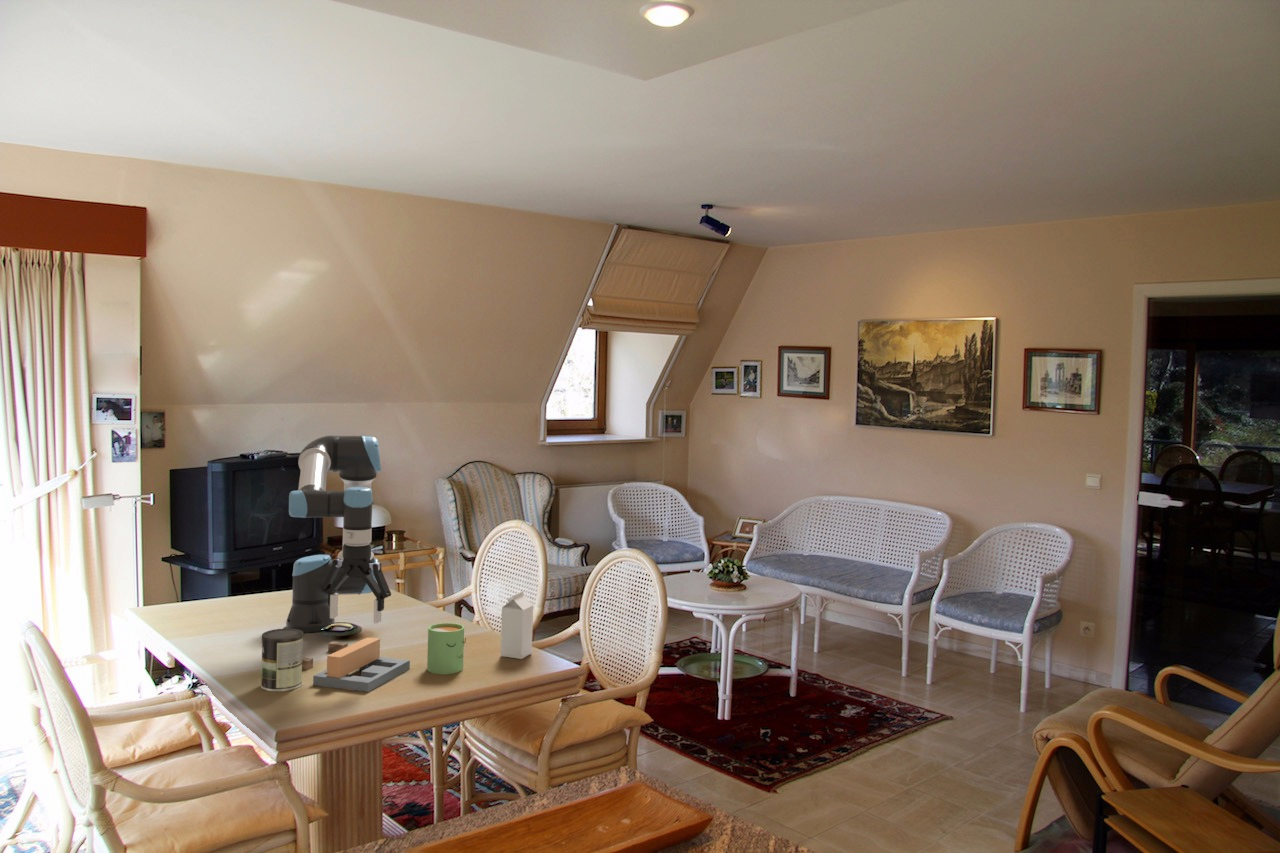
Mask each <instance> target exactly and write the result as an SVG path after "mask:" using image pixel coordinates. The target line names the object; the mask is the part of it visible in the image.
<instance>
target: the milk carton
mask: <svg viewBox="0 0 1280 853" xmlns="http://www.w3.org/2000/svg"><path fill="white" fill-rule="evenodd" d="M524 592H525V591H524V590H521V591H520V592H518V593H515V594H513V595H511V596H510V597H509V598H508V599H507V603H506V604H505V605H503V606H502V607H501V631H500V635H501V636H500V657H504V658H512V659H517V660H518V659H519V660H523V659H524V658H526V657H528V656H529V655H531V654H532V653H533V627H534V625H533V624H534V622H533V621H534V604H533V603H532V602H531V601H530V600H529V599H528V598H527V597H526V596H525V594H524Z"/></svg>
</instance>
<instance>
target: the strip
mask: <svg viewBox="0 0 1280 853" xmlns="http://www.w3.org/2000/svg"><path fill="white" fill-rule="evenodd" d="M380 652H381V639H380V638H376V637H365V638H364V639H361V640H359V641H357V642H355V643H353V644H351V645H348V647H346V648H343V649H341V650H339V651H337V652H331V654H328V655H326V656H327V657H326V663H327V664H326V669H327V676H329V677H337V678H341V677H343V676H345V677H349V676H350V675H349V674H350V673H353V672H355V671H357V670H358V669H359V670H360V671H363V670H365V669H367V668H369V667H368V663H370V662H372V661H374V660H376V659H378V658H380V657H381V655H380V654H381V653H380Z"/></svg>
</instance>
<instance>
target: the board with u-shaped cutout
mask: <svg viewBox="0 0 1280 853" xmlns="http://www.w3.org/2000/svg"><path fill="white" fill-rule="evenodd" d="M410 663H411V661H410V659H403V658H393V657H385V656H380V658H378V659H376V660H374V661H372V662H370V663H368V668H367V669H365V670H360V671H361V672H360V676H359V675H351V676H348V677H345V676H343V677H341V678H337V677H329V676H327V668H326V669H324V670H322V671H321V672H318V673H316V674H314V675H313V677H312V678H313V679H312V685H313V686H317V685H318V686H319V687H325V688H332V687H334V689H340V688H343V689H342V690H347V689H351V690H350V691H355V690H358V691H357V692H363V691H365V693H369V692H371V691H373V690H374V689H376V688H378V687H380V686H382V685H383V684H385V683H387V682H389V681H391V680H392V679H393V678H396V677H397V676H400V675H401V674H403V673H405V672H406V671H408V670H410V666H411V664H410Z"/></svg>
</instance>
